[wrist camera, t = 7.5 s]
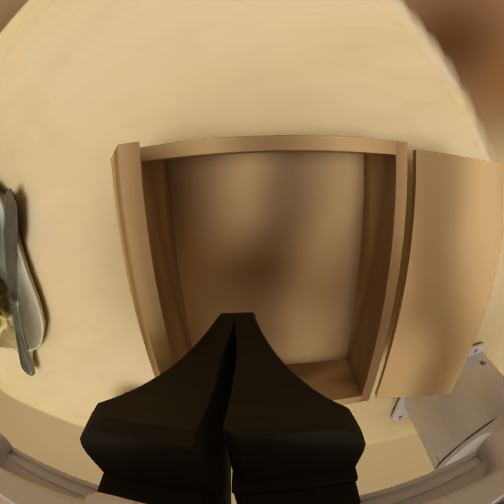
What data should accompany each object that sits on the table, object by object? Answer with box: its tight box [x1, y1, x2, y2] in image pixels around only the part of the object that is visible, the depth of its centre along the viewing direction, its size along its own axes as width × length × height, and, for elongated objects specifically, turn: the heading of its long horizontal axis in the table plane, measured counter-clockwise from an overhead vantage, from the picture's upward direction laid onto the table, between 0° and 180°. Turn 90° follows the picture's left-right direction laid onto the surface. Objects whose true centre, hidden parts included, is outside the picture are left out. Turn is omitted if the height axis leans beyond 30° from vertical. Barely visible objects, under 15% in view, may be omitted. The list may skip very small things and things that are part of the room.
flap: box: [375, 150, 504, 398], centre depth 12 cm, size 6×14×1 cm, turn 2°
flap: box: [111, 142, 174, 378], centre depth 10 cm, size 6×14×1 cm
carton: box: [140, 135, 407, 405], centre depth 15 cm, size 12×15×4 cm
